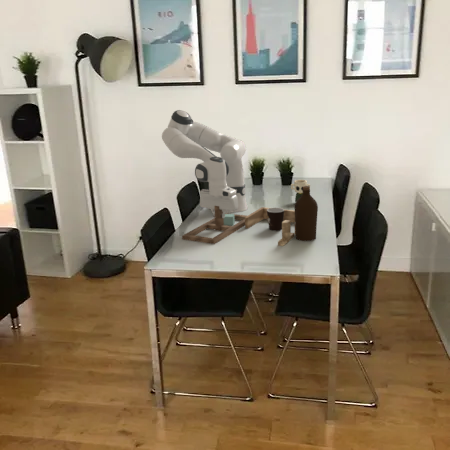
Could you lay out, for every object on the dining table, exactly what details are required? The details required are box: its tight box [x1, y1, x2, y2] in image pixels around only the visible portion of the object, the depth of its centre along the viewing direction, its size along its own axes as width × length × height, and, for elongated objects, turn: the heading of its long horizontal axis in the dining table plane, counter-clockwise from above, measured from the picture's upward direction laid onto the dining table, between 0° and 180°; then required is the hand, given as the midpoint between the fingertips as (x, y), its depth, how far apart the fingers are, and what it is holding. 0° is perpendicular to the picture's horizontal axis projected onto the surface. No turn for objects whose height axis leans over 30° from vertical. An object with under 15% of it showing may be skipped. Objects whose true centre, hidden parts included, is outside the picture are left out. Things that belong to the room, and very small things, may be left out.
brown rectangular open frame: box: [181, 206, 247, 245], centre depth 256 cm, size 18×41×13 cm, turn 151°
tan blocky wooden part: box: [277, 220, 295, 247], centre depth 236 cm, size 3×14×10 cm, turn 151°
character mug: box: [290, 179, 311, 203], centre depth 299 cm, size 11×7×13 cm, turn 80°
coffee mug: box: [267, 207, 285, 232], centre depth 256 cm, size 12×9×10 cm
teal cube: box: [224, 213, 236, 226], centre depth 266 cm, size 5×5×5 cm
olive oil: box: [294, 185, 319, 242], centre depth 237 cm, size 11×11×25 cm
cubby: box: [244, 206, 296, 236], centre depth 259 cm, size 28×20×6 cm
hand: (219, 217), depth 256 cm, fingers closed on brown rectangular open frame, 3 cm apart
